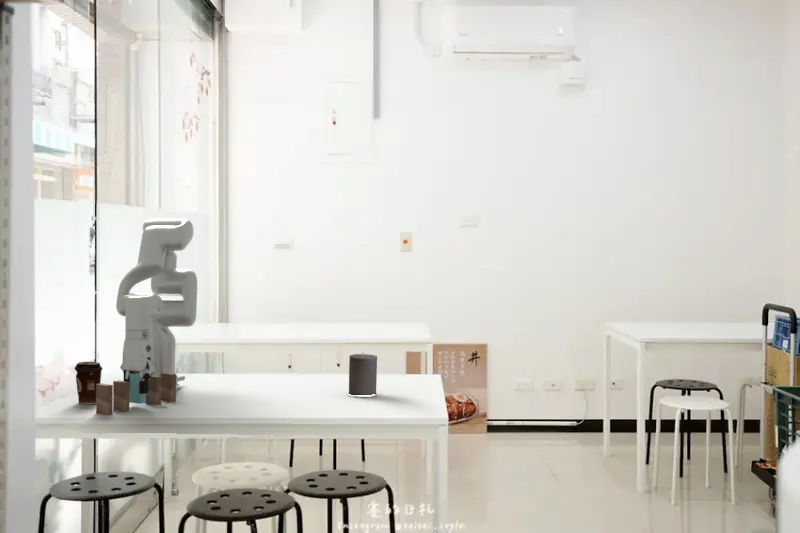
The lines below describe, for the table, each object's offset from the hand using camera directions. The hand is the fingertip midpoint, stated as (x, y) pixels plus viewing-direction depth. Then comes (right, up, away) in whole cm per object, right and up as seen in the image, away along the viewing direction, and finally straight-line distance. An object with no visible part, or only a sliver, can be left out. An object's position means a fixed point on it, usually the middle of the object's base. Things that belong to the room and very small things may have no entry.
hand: (137, 391), depth 282 cm
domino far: (-7, -5, -11) cm, 14 cm away
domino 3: (+3, -5, +6) cm, 8 cm away
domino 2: (0, -3, 0) cm, 3 cm away
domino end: (+7, -5, +11) cm, 14 cm away
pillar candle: (+70, -5, +26) cm, 75 cm away
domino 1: (-3, -5, -5) cm, 8 cm away
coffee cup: (-18, -5, +6) cm, 19 cm away
